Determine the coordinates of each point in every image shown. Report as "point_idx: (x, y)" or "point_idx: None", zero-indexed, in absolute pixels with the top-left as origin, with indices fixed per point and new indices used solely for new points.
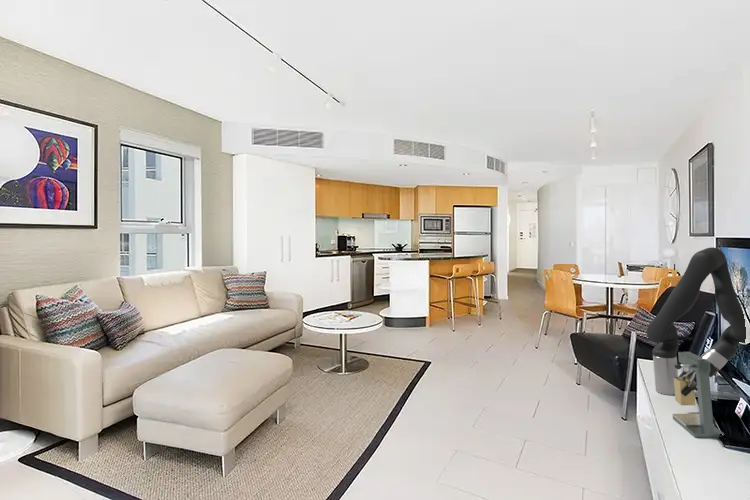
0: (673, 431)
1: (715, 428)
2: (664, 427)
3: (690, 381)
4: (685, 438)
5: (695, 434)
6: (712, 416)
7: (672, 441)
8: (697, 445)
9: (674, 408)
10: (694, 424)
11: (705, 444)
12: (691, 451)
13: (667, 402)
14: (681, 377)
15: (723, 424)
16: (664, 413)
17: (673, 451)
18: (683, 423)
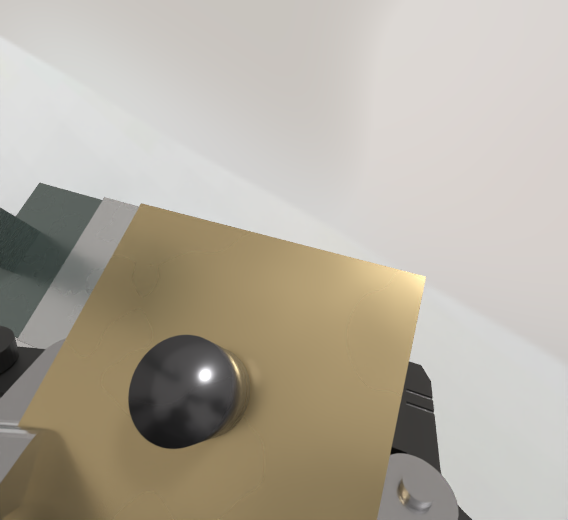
0: (146, 162)
1: (8, 321)
2: (193, 155)
3: (22, 422)
4: (77, 162)
5: (41, 189)
6: None
7: (88, 107)
8: (17, 162)
9: None
10: (82, 239)
11: (2, 194)
12: (6, 116)
13: (541, 450)
14: (340, 459)
15: None
16: None
17: (41, 71)
18: (125, 204)
